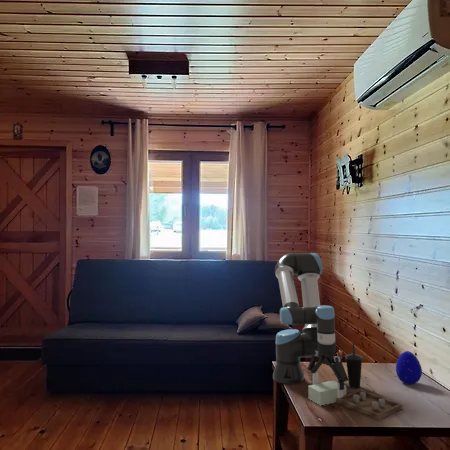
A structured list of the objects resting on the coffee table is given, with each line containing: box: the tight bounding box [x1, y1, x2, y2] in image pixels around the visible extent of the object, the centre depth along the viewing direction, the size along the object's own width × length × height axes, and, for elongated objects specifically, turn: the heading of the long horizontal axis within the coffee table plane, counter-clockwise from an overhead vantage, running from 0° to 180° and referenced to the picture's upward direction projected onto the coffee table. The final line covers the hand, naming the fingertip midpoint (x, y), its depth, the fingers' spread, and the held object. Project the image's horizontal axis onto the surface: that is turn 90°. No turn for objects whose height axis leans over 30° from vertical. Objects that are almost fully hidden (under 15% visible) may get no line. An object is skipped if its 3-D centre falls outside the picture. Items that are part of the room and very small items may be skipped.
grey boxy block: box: [307, 379, 347, 407], centre depth 176 cm, size 14×8×6 cm, turn 116°
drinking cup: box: [345, 342, 363, 389], centre depth 189 cm, size 8×8×20 cm
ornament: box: [395, 350, 423, 385], centre depth 192 cm, size 11×9×15 cm
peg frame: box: [336, 388, 404, 422], centre depth 168 cm, size 20×16×4 cm
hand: (327, 392), depth 175 cm, fingers open, 13 cm apart
